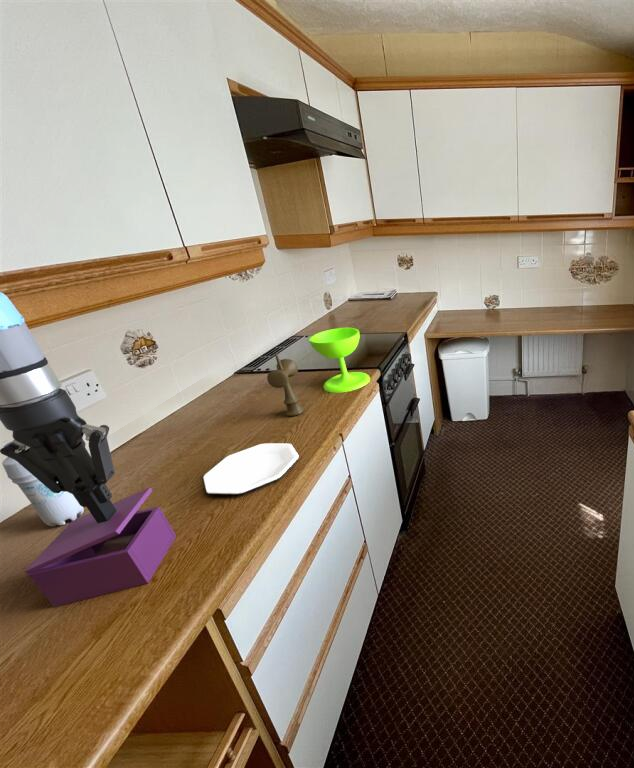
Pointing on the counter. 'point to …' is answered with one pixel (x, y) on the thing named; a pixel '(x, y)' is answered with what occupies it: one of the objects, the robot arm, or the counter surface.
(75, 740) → the counter surface
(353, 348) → the wineglass
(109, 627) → the counter surface
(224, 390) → the counter surface
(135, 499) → the lid
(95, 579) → the purple hinged box
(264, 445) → the plate
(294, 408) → the kendama
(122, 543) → the block
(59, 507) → the bottle
